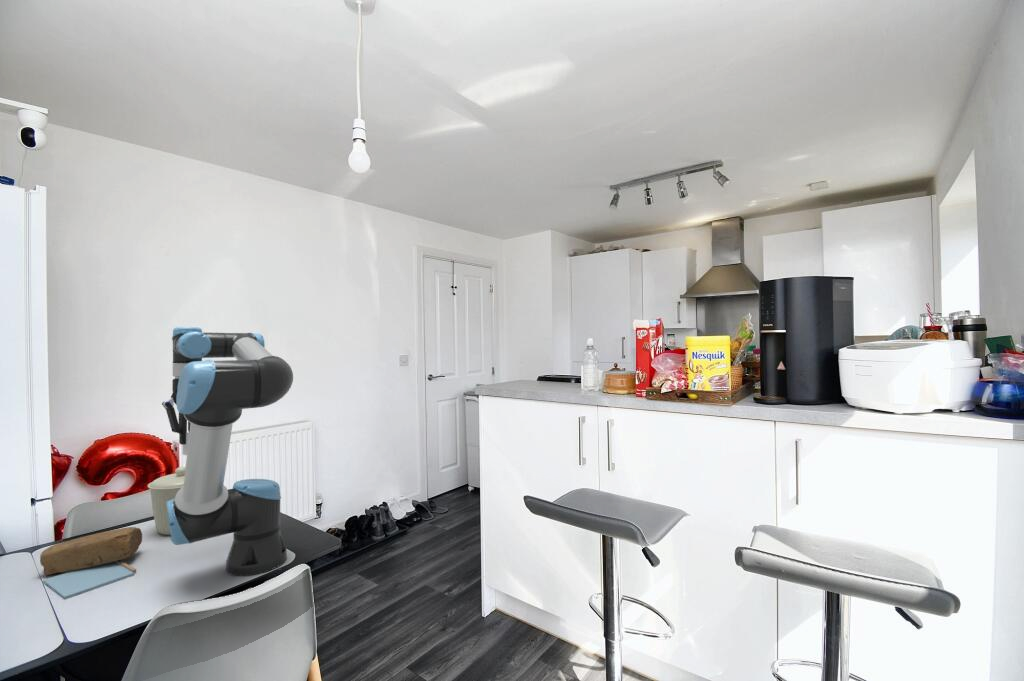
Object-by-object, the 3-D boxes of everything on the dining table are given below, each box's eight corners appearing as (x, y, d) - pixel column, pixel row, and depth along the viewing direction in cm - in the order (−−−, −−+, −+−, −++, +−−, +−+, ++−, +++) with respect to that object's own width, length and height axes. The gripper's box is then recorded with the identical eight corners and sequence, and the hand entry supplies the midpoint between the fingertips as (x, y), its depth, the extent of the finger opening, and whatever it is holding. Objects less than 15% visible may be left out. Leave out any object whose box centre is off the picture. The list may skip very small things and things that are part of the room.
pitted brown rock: (127, 533, 130) (35, 553, 123) (130, 560, 130) (38, 581, 123) (142, 521, 140) (58, 538, 133) (145, 545, 140) (61, 564, 133)
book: (137, 573, 126) (137, 570, 126) (64, 599, 113) (64, 595, 113) (113, 560, 134) (113, 556, 134) (43, 582, 122) (43, 578, 122)
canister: (162, 522, 163) (162, 462, 164) (220, 517, 168) (220, 458, 169) (136, 543, 146) (136, 476, 146) (201, 536, 151) (201, 471, 151)
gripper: (204, 376, 150) (204, 449, 149) (157, 378, 139) (156, 457, 138) (216, 376, 146) (216, 451, 146) (169, 378, 135) (168, 460, 134)
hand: (187, 454), depth 142 cm, fingers closed
